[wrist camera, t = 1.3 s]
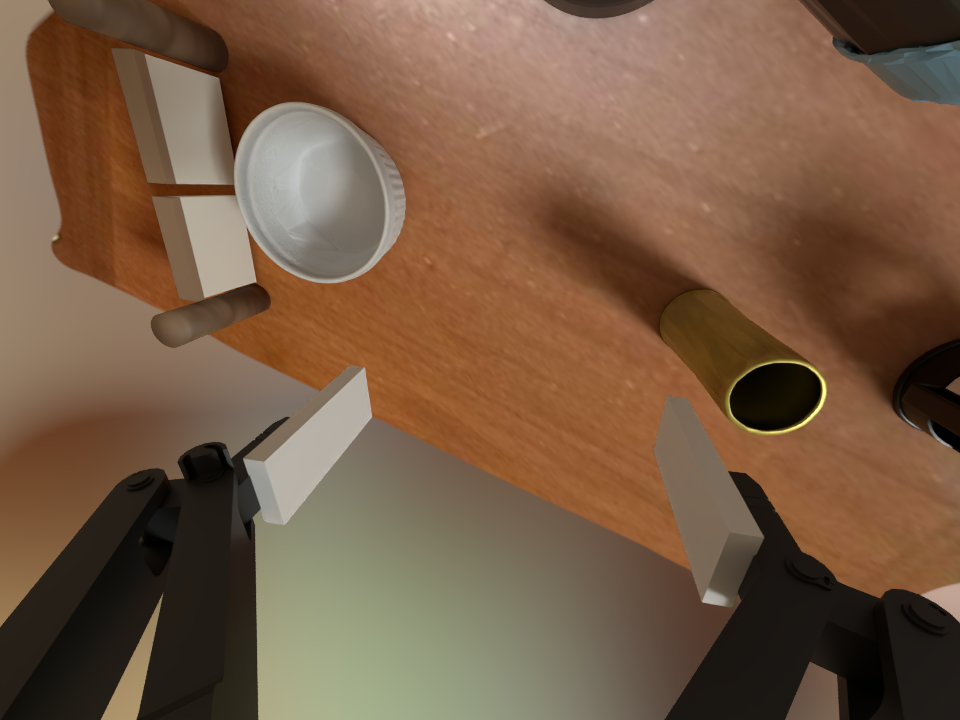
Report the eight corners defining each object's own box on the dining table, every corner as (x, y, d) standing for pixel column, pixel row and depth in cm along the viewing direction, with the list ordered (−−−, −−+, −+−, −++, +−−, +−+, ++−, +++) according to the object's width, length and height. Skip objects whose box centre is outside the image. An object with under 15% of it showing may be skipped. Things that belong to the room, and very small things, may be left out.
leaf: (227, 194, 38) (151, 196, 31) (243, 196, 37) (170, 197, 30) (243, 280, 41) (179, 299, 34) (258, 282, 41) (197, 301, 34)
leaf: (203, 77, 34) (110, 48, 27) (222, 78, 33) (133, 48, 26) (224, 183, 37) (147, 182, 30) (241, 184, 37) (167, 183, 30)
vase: (652, 301, 35) (708, 366, 22) (727, 279, 33) (835, 336, 20) (666, 359, 37) (724, 451, 24) (737, 342, 35) (841, 431, 22)
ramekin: (447, 203, 35) (423, 206, 28) (361, 295, 40) (325, 315, 34) (339, 79, 32) (287, 53, 26) (263, 195, 37) (205, 196, 31)
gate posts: (192, 29, 33) (34, -41, 23) (224, 29, 32) (76, -41, 22) (248, 309, 43) (156, 345, 33) (272, 312, 43) (186, 349, 33)
